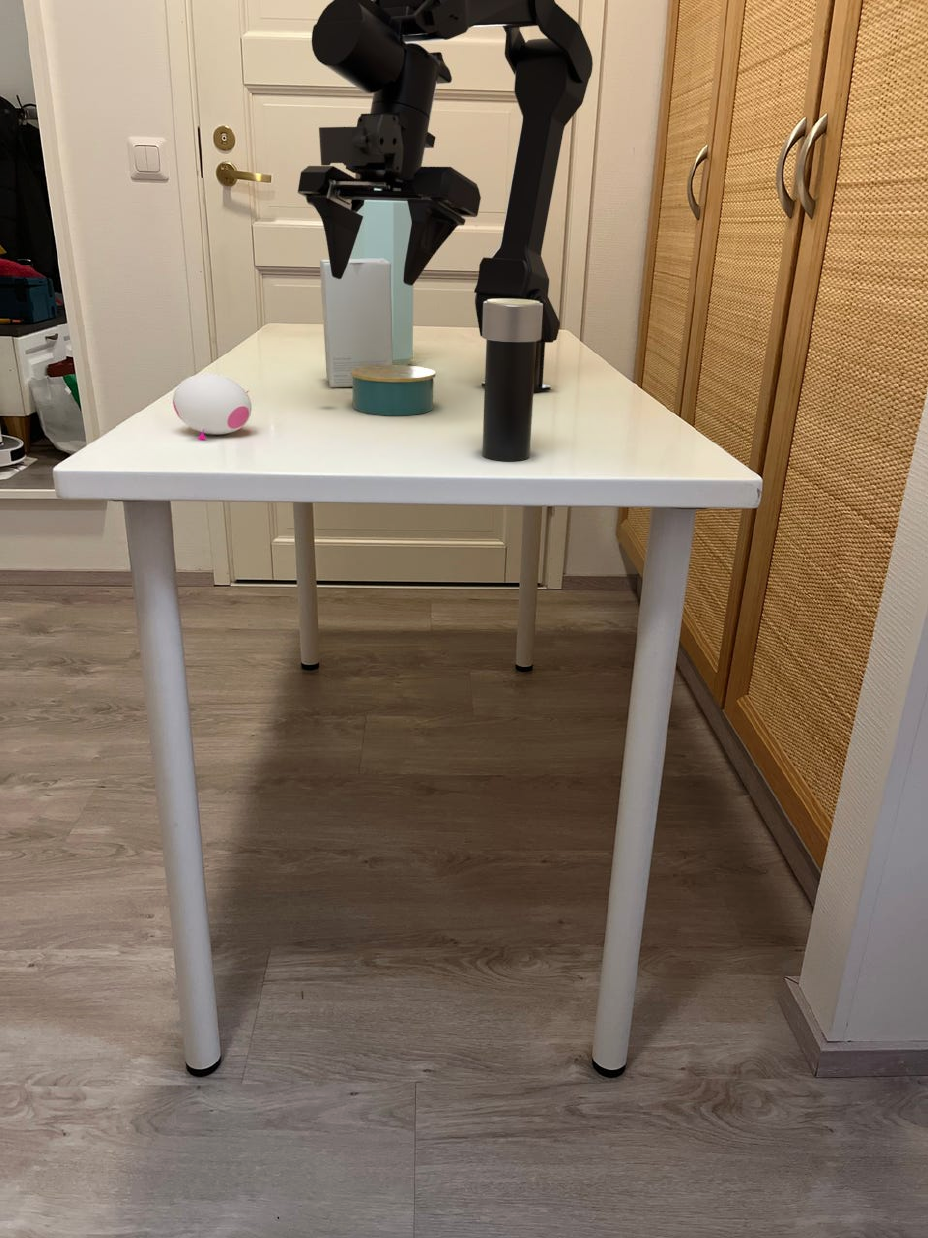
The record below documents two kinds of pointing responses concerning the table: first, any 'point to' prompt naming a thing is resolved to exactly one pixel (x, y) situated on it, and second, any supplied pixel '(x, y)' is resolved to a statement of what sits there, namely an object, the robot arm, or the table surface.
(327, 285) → the cosmetic box
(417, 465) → the table surface
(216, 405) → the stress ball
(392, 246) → the water bottle
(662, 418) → the table surface
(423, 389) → the tin
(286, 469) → the table surface
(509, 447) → the torch
